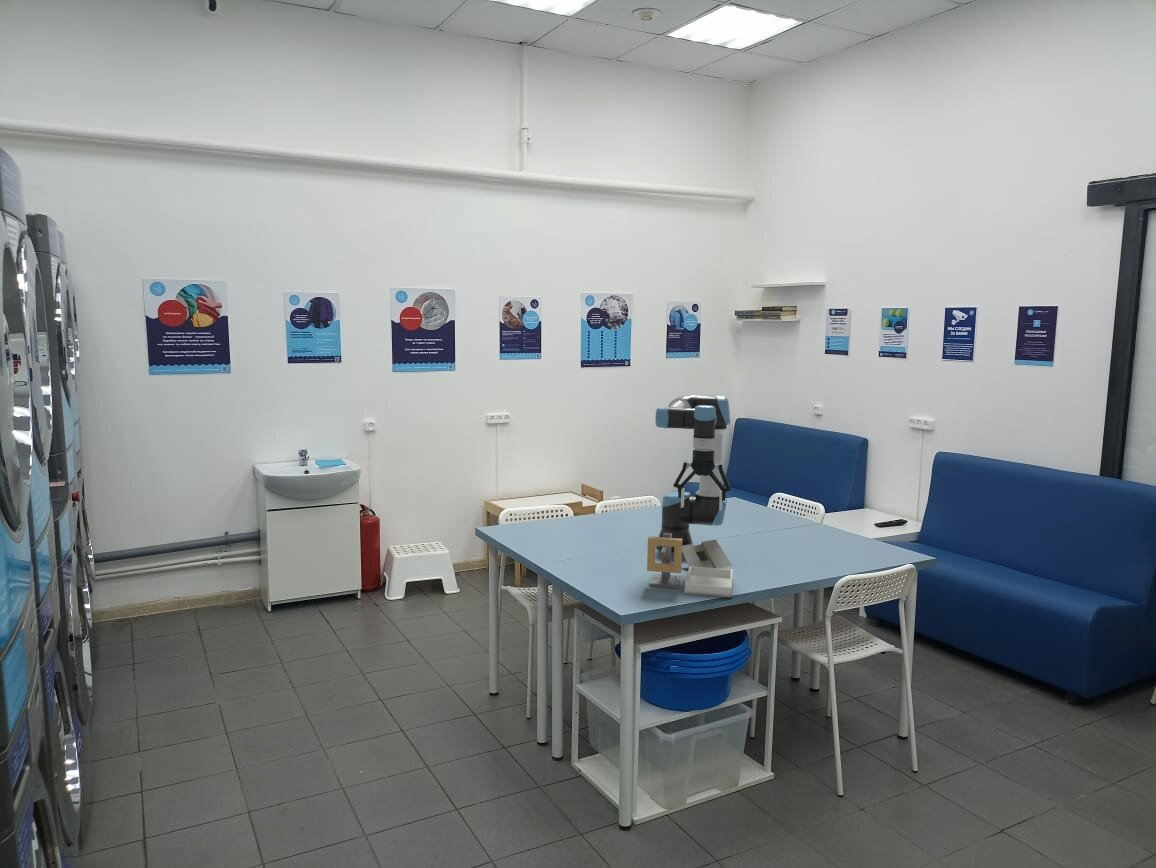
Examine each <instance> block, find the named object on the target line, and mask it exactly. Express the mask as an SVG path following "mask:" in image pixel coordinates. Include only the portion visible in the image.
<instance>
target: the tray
mask: <svg viewBox="0 0 1156 868" xmlns="http://www.w3.org/2000/svg"><path fill="white" fill-rule="evenodd" d="M688 566H689V565H688ZM733 577H734V569H730V568H707V567H694V566H689V567H688V570H687V575H686V578H685V582H684V594H687V595H698V596H709V597H710V596H713V597H721V598H722V597H723V598H732V594H733V593H732V592H733V591H732V590H733V580H734V579H733Z"/></svg>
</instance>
